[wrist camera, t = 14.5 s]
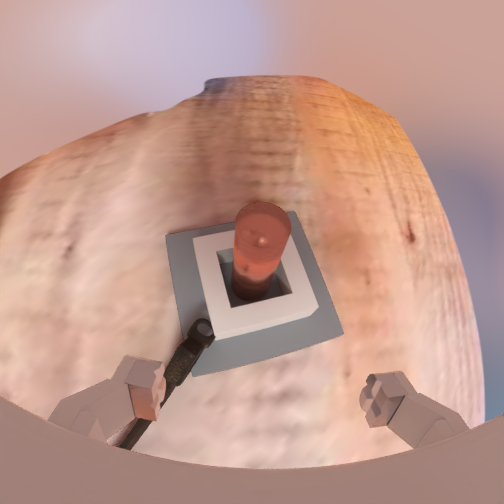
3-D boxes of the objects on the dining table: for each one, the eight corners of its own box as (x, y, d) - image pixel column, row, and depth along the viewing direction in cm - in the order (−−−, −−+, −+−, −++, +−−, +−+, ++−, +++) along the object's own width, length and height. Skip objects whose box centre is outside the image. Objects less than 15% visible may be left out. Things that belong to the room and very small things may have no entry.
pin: (236, 305, 28) (243, 253, 19) (226, 270, 30) (229, 206, 20) (273, 296, 29) (299, 242, 19) (262, 263, 31) (280, 198, 21)
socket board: (193, 376, 25) (188, 374, 22) (166, 239, 32) (160, 220, 29) (340, 335, 29) (355, 326, 25) (293, 216, 36) (300, 196, 32)
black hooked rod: (54, 482, 17) (183, 304, 28) (85, 510, 16) (223, 334, 27) (32, 493, 12) (174, 291, 23) (67, 525, 12) (222, 327, 22)
